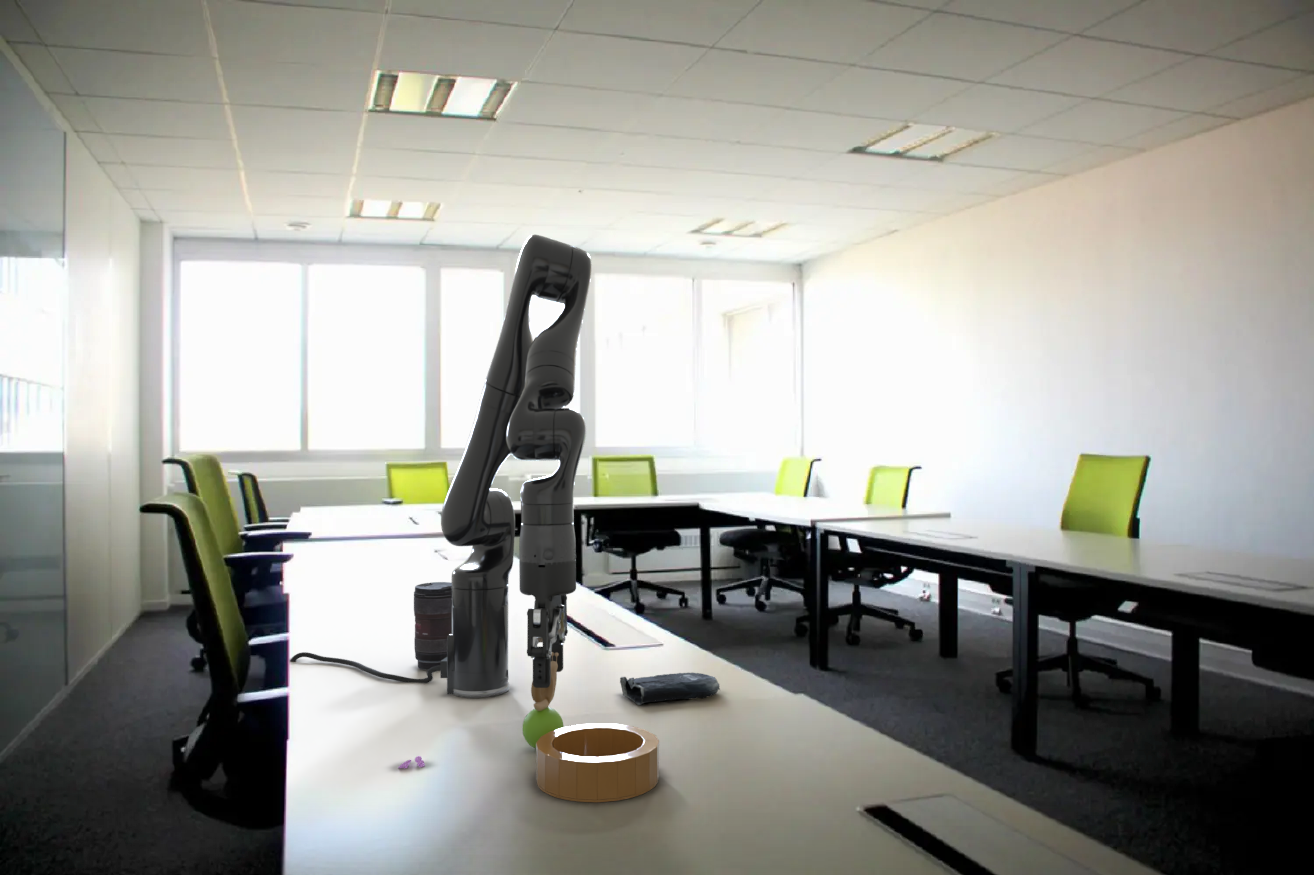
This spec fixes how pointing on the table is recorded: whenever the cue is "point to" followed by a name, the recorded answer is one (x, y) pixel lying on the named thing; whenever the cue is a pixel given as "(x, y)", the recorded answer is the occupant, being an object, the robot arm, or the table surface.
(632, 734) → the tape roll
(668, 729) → the table surface
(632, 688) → the dark blue pouch
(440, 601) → the camera lens
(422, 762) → the earpods
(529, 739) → the snail figurine
